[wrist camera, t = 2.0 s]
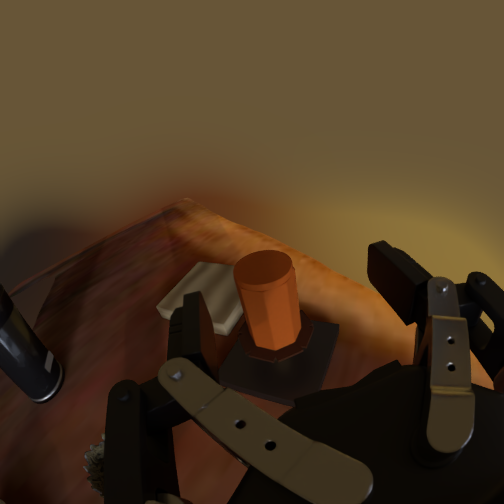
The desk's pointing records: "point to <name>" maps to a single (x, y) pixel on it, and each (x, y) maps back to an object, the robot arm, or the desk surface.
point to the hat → (270, 307)
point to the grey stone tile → (208, 295)
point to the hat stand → (282, 369)
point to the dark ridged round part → (96, 466)
